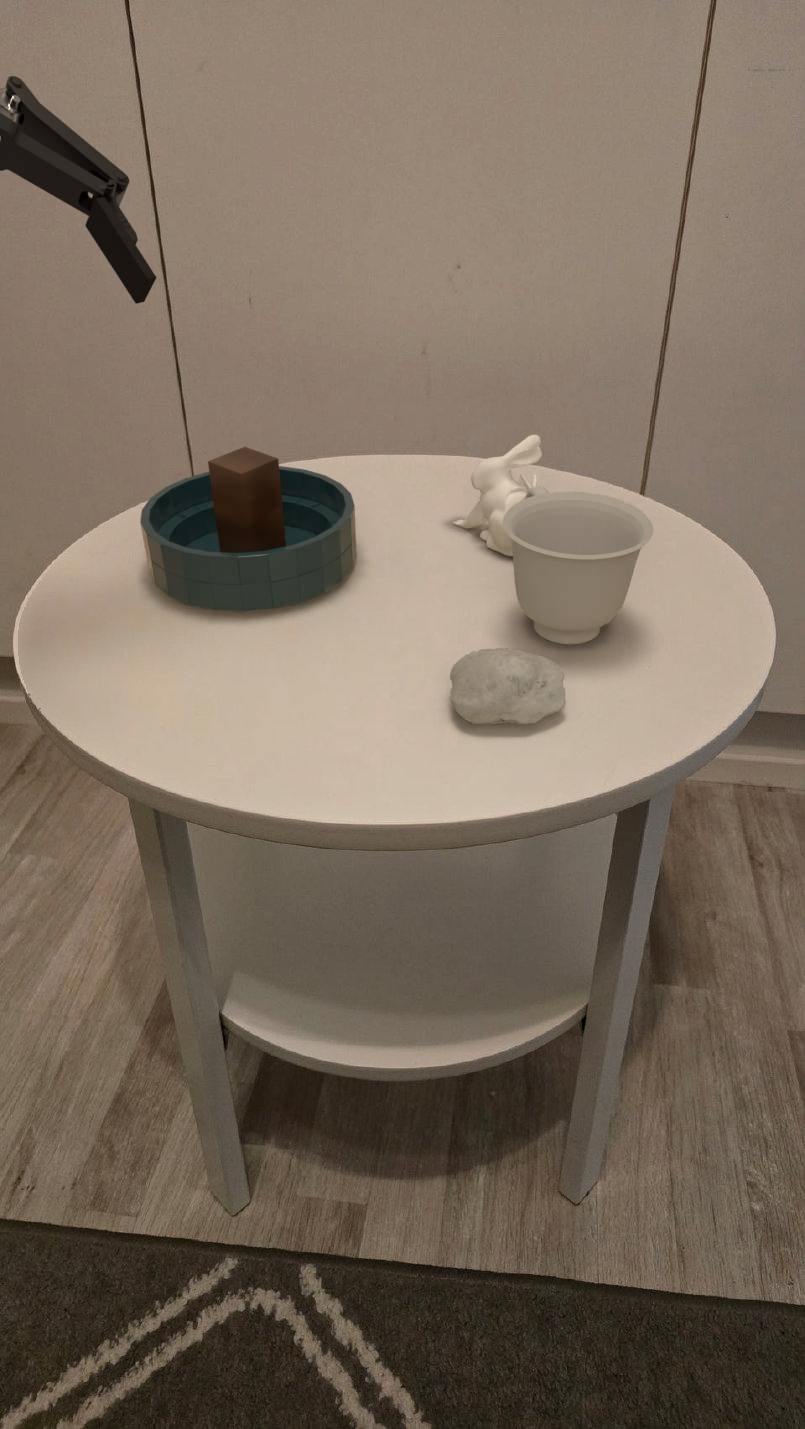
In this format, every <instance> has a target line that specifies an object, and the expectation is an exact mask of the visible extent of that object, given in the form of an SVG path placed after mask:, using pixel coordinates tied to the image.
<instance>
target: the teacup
mask: <svg viewBox="0 0 805 1429" xmlns="http://www.w3.org/2000/svg"><path fill="white" fill-rule="evenodd" d="M503 528H504V530H505V532H506V533H507V534H508V536H509V537H510V538H511V542H512V550H513V556H512V563H513V577H514V578H513V579H514V586H515V594H516V598H517V601H518V604H519V606H520V608H521V610H522V611H523V613H524V614H525V615H526V616H527V618H529V619H531V620H532V621H533V629H534V631H535V633H536V634H537V635H539V636H540V637H541V638H543V639H545V640H547V641H549V642H552V643H555V644H560V645H579V644H585V643H587V642H590V641H592V640H594V639H595V638H597V637H598V635H599V634H600V632H601V627H603V626H605V625H606V624H608V623H609V622H611V621H612V620H613V619H615V618H616V616H617V615H618V614H619V612H620V611H621V609H622V607H623V606H624V603H625V601H626V598H627V596H628V592H629V589H630V586H631V581H632V579H633V575H634V572H635V569H636V568H635V567H636V564H637V561H638V558H639V555H640V553H641V550H642V548H643V547H644V546H646V545H647V544H648V543H649V542H650V541H651V539H652V537H653V535H654V526H653V523H652V521H651V520H650V519H649V517H648V516H647V515H646V514H645V512H644V511H642V510H641V509H639V508H638V507H637V506H634V505H633V504H631V503H629V502H626V501H624V500H621V499H618V498H616V497H612V496H608V495H604V494H600V493H594V492H586V491H555V492H549V491H548V490H547V488H545V487H544V486H539V485H538V486H536V487H533V488H531V489H530V490H529V491H528V492H527V494H526V497H525V499H524V500H522V501H520V502H518V503H517V504H515V505H514V506H513V507H511V508H510V509H509V510H508V511H507V513H506V514H505V516H504V518H503Z"/></svg>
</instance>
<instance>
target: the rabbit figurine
mask: <svg viewBox="0 0 805 1429" xmlns="http://www.w3.org/2000/svg"><path fill="white" fill-rule="evenodd" d="M541 441H542V440H541V437H540V435H537V434H531V435H528V436H526V438H524V439H523V440H522V441H520V442H519V443H517V444H516V445H515V446H514V447H512V448H511V449H510V450H508V451H507V452H506V453H505V454H503V455H502V456H492V457H488V458H485V459H483V460H482V461H481V462H479V463H478V464H477V465H476V467H475V468H474V470H473V471H472V473H471V476H470V481H471V485H472V488H474V489H475V490H478V491H479V492H480V496H479V501H478V502H477V503H476V505H474V507H473V509H471V511H470V512H469V513H468V515H467V516H466V517H465V519H458V520H455V521H453V522H452V523H453V524H454V525H455V526H458V527H462V528H463V529H472V528H476V527H479V526H480V525H482V524H483V523H485V522H486V521H487V522H488V529H487V528H486V529H483V530H482V531H481V532H480V535H479V538H480V539H482V540H483V541H485V542H486V547H487V548H489V549H491V550H493V551H494V552H495V551H496V552H497V553H500V554H502V555H504V556H507V557H513V550H512V542H511V538H510V537H509V536H508V534H507V533H506V532H505V530H504V528H503V518H504V516H505V514H506V513H507V511H508V510H509V509H510V508H511V507H513V506H514V505H515V504H517V503H518V502H520V501H522V500H524V499H525V497H526V494H527V492H528V491H529V490H530V489H531V488H533V487H537V484H538V479H537V475H536V474H535V473H534V474H532V475H531V478H532V482H531V484H530V483H529V481H528V480H527V479H526V478H525V477H524V475H523V474H522V473H521V474H519V477H518V479H519V481H518V480H516V479H515V478H514V477H513V475H512V469H517V468H520V467H526V466H530V465H533V464H536V463H537V462H539V460H540V458H542V457H543V452H542V449H541V447H539V446H540V445H541Z"/></svg>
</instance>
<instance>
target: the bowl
mask: <svg viewBox="0 0 805 1429" xmlns="http://www.w3.org/2000/svg"><path fill="white" fill-rule="evenodd" d="M279 472H280V483H281V495H282V506H283V517H284V528H285V539H286V547H281V548H276V549H271V550H267V551H258V552H246V553H226V552H220V548H219V540H218V533H217V526H216V518H215V511H214V503H213V496H212V488H211V481H210V473H209V471H207V472H206V471H205V472H202V473H199V474H195V475H192V476H189V477H185V478H181V479H180V480H178V481H176V482H173V483H172V484H169V485H167V486H165V487H164V488H162V489H160V490H159V491H158V492H156V493H155V494H154V495H153V496H151V497H150V498H149V499H148V500H147V502H146V503H145V504H144V506H143V507H142V508H141V512H140V522H139V523H140V529H141V533H142V539H143V544H144V550H145V555H146V560H147V561H146V562H147V566H148V572H149V575H150V577H151V579H152V581H153V583H154V585H155V587H156V588H158V589H159V590H160V591H161V592H163V593H164V594H165V595H166V596H168V597H169V598H171V599H174V600H176V601H179V602H181V603H184V604H186V605H188V606H192V607H197V608H202V609H207V610H211V611H215V612H216V611H221V612H239V613H240V612H242V613H243V612H255V611H266V610H273V609H275V610H276V609H278V608H284V607H287V606H292V605H295V604H296V605H297V604H300V603H303V602H305V601H308V600H312V599H314V598H315V597H319V596H322V595H323V594H325V593H327V592H328V591H330V590H332V589H333V588H335V587H336V586H338V585H340V584H341V583H343V581H344V580H345V579H346V578H347V577H348V575H350V573H351V572H352V571H353V569H354V567H355V563H356V560H357V557H358V555H357V534H356V531H357V530H356V509H355V503H354V502H355V501H354V499H353V494H352V493H351V492H350V491H349V490H348V489H347V487H346V486H344V485H343V484H342V483H341V482H339V481H337V480H335V479H334V478H331V477H329V476H328V475H326V474H322V473H319V472H315V471H312V470H308V469H304V468H298V467H297V468H296V467H290V466H282V465H279Z"/></svg>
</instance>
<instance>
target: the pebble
mask: <svg viewBox="0 0 805 1429" xmlns="http://www.w3.org/2000/svg"><path fill="white" fill-rule="evenodd" d="M449 679H450V680H451V687H450V691H449V695H450V700H451V702H452V705H453V706H454V710H455V711H456V713H457V714H458V715H460V717H462V718H463V719H464V720H466V721H467V722H470V723H472V724H475V725H477V724H493V725H497V724H498V725H499V724H505V723H510V724H518V725H533V724H536V723H538V722H539V721H540V720H542V719H544V718H545V717H548V716H551V715H553V714H555V713H557V712H559V711H560V710H562V709H563V708H564V707H565V705H566V703H567V701H566V688H565V687H564V679H565V674H564V672H563V671H562V669H561V668H560V666H558V664H557V663H556V662H554V661H552V660H551V659H549V658H547V657H545V656H541V655H537V654H535V653H530V652H525V651H522V650H521V649H511V648H508V647H496V648H495V647H494V648H482V649H479V650H474V651H471V652H469V653H468V654H465V655H464V656H462V657H461V658H459V659H458V660H457V661H456V662H455V663H454V664H453V666H452V668H451V670H450V673H449Z"/></svg>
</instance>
